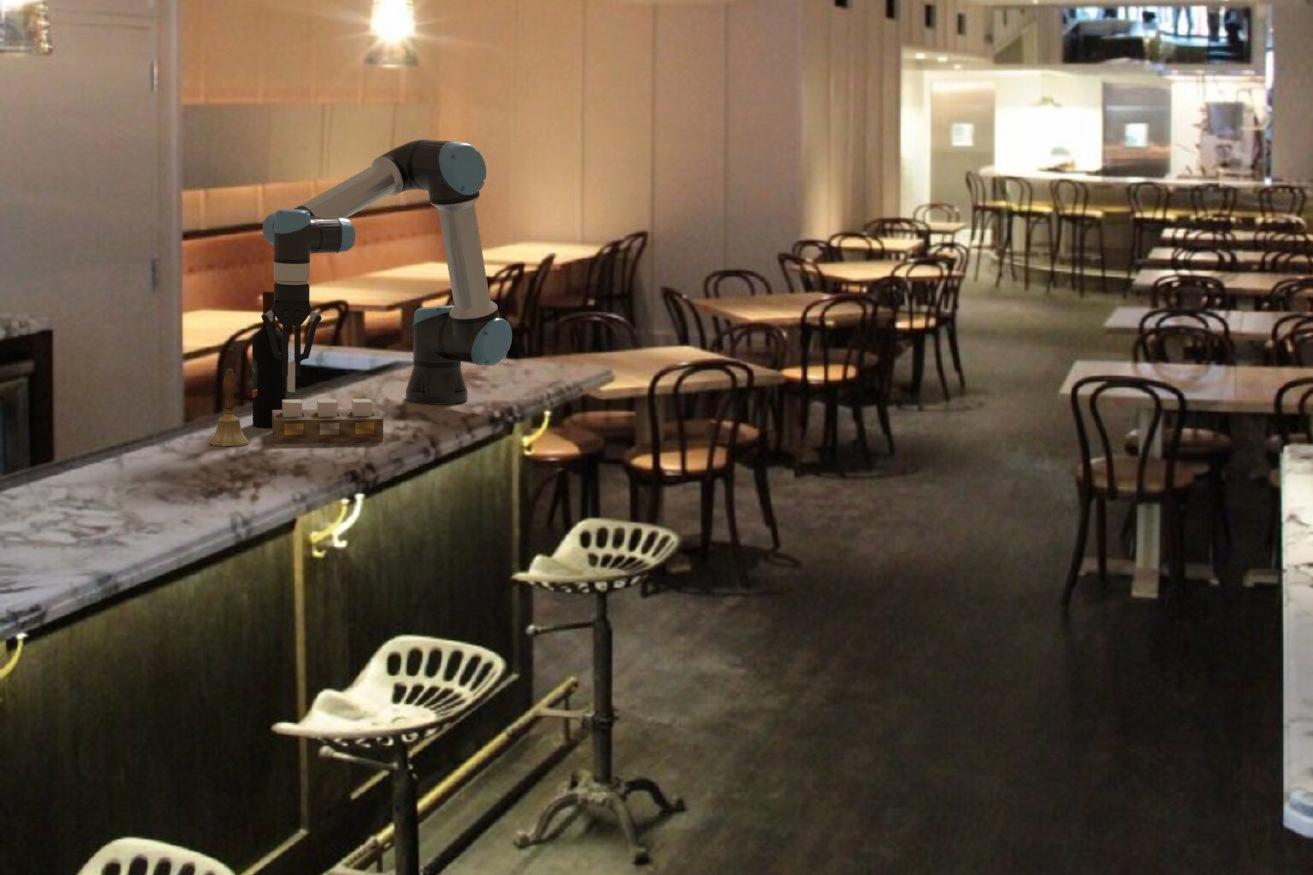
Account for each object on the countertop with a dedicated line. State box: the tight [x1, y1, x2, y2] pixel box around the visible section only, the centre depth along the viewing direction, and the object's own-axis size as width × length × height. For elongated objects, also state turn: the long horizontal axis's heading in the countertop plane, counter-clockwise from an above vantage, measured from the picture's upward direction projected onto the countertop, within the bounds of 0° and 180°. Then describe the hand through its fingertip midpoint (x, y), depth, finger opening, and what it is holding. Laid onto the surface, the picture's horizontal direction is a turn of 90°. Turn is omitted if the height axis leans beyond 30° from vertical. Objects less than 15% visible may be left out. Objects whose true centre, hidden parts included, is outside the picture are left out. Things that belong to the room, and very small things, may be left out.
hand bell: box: [208, 368, 250, 447], centre depth 383 cm, size 8×8×16 cm
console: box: [271, 408, 384, 444], centre depth 394 cm, size 23×12×5 cm, turn 105°
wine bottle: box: [251, 290, 288, 429], centre depth 402 cm, size 8×8×30 cm
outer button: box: [282, 399, 303, 417], centre depth 391 cm, size 4×4×5 cm
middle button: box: [316, 398, 338, 417], centre depth 393 cm, size 4×4×5 cm
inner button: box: [351, 398, 373, 416], centre depth 395 cm, size 4×4×5 cm
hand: (291, 391), depth 390 cm, fingers closed
